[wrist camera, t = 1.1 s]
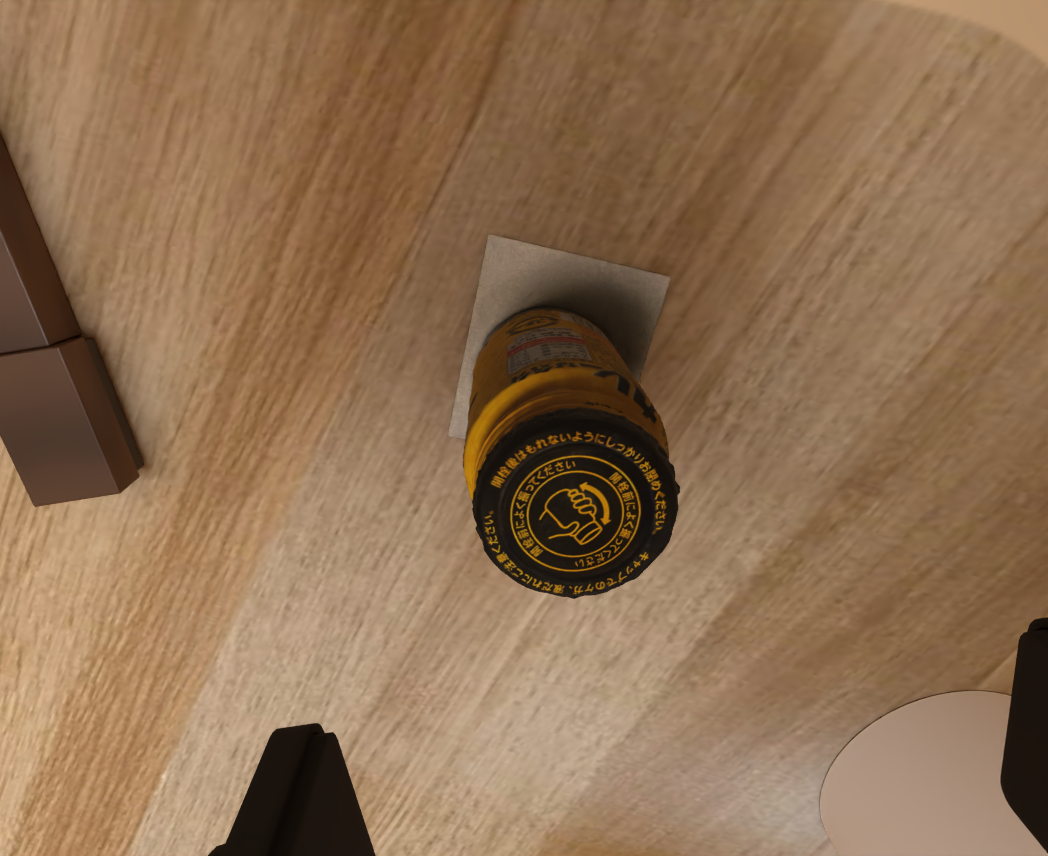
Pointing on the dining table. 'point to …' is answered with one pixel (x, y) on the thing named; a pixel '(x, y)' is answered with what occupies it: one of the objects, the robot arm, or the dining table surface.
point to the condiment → (564, 420)
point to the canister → (926, 783)
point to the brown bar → (52, 374)
